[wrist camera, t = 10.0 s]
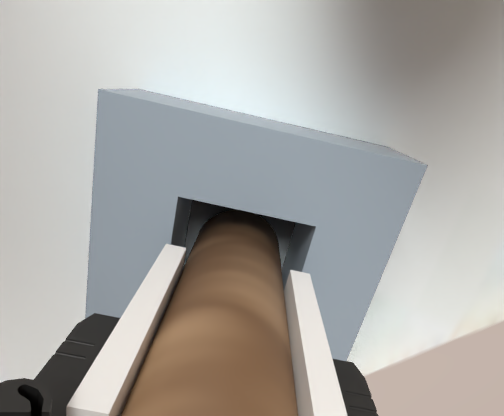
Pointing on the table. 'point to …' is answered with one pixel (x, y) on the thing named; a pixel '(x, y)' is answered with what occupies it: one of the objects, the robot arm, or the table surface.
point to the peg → (222, 330)
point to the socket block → (242, 198)
